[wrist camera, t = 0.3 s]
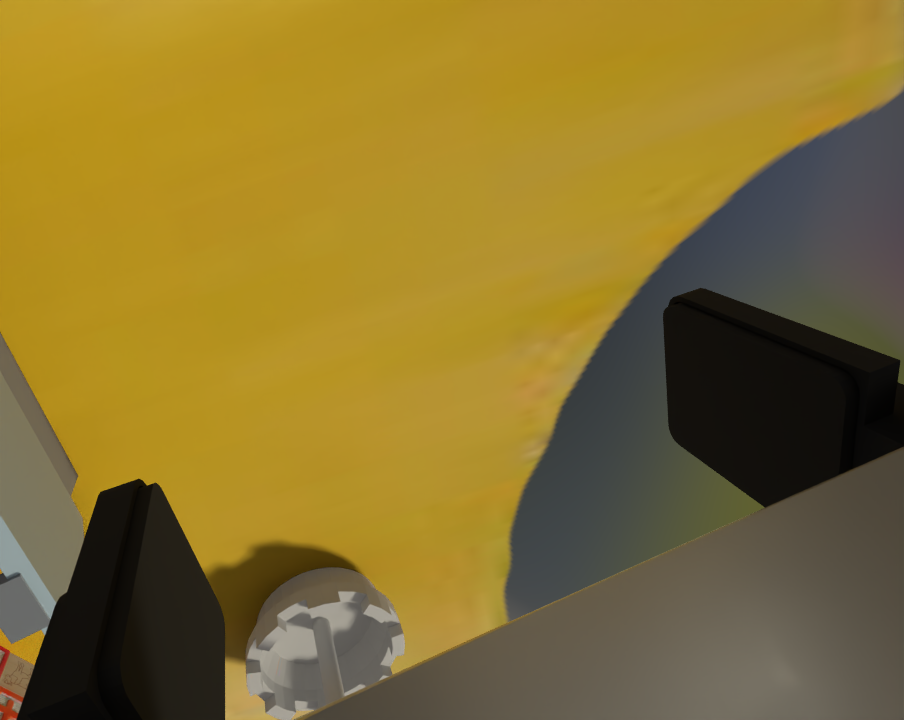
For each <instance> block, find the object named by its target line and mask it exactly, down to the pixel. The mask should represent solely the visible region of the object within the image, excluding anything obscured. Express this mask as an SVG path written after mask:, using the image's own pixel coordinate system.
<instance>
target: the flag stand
mask: <svg viewBox="0 0 904 720" xmlns="http://www.w3.org/2000/svg"><path fill="white" fill-rule="evenodd" d="M404 648H405V641H404V634H403V631H402V628H401V625H400V622H399V619H398V616H397V613H396V611H395V609H394V607H393V604H392V603H391V602H390V601H389V600H388V598H387V597H386V596H385V595H384V594H382V593H381V592H379V591H378V590H376V589H375V587H374V585H373V584H372V583H371V582H370V580H369V579H367V578H366V577H365V576H363V575H362V574H360V573H358V572H355V571H353V570H350V569H345V568H334V567H328V568H320V569H315V570H311V571H308V572H304V573H302V574H300V575H297V576H295V577H293V578H291V579H290V580H288V581H286V582H285V583H283V584H282V585H280V586H279V587H278V588H277V589H276V590H275V591H274V592H273V593H272V594H271V595H270V596H269V597H268V599H267V600H266V601H265V602H264V604H263V606H262V608H261V610H260V612H259V615H258V619H257V625H256V626H255V627H254V629H253V631H252V633H251V635H250V637H249V639H248V643H247V647H246V678H247V688H248V691H249V694H250V696H252V695H255V694H257V695H258V696H259V697H260V698H262V699H263V700H264V701H265V712H266V713H267V714H269V715H271V716H273V717H275V718H277V719H282V720H291V719H292V717H293V716H294V715H295V713H296V710H298V711H306V710H316V709H318V708H320V707H323V706H325V705H327V704H329V703H331V702H334V701H336V700H338V699H340V698H342V697H345V696H347V695H349V694H351V693H353V692H356V691H358V690H360V689H362V688H364V687H367V686H369V685H371V684H373V683H376V682H378V681H380V680H382V679H384V678H387V677H389V676H391V675H392V672H391V668H390V666H391V664H392V663H393V661H394V659H395V657H396V656H400V655H404Z"/></svg>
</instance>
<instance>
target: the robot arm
mask: <svg viewBox="0 0 904 720" xmlns="http://www.w3.org/2000/svg"><path fill="white" fill-rule="evenodd" d="M663 322H664V323H663V324H664V342H665V343H664V344H665V364H666V383H667V404H668V423H669V430H670V433H671V435H672V437H673V439H674V440H675V441H676V442H677V443H678V444H679V445H680V446H681V447H683V448H684V449H686V450H687V451H688V452H690V453H691V454H692V455H694V456H695V457H697V458H698V459H699V460H701V461H702V462H703V463H705V464H706V465H708V466H709V467H710V468H712V469H713V470H714V471H716V472H717V473H719V474H720V475H721V476H723V477H724V478H725V479H727V480H728V481H729V482H731V483H732V484H734V485H735V486H736V487H738V488H739V489H740V490H742V491H743V492H745V493H746V494H747V495H749V496H750V497H751V498H753V499H754V500H756V501H757V502H758V503H760V504H761V505H763V506H764V507H765V508H763V509H761V510H759V511H757V512H754V513H752V514H750V515H748V516H746V517H743V518H741V519H739V520H737V521H734V522H732V523H730V524H727V525H725V526H723V527H721V528H719V529H717V530H714V531H712V532H710V533H707V534H705V535H703V536H701V537H698V538H696V539H694V540H692V541H690V542H687V543H685V544H683V545H680V546H678V547H676V548H674V549H672V550H669V551H667V552H665V553H663V554H660V555H658V556H656V557H653V558H651V559H649V560H647V561H645V562H642V563H640V564H638V565H636V566H633V567H631V568H629V569H627V570H624V571H622V572H620V573H618V574H616V575H613V576H611V577H609V578H606V579H604V580H602V581H600V582H598V583H595V584H593V585H591V586H589V587H586V588H584V589H582V590H580V591H577V592H575V593H573V594H571V595H568V596H566V597H564V598H562V599H560V600H557V601H555V602H553V603H551V604H549V605H546V606H544V607H542V608H539V609H537V610H535V611H533V612H531V613H528V614H526V615H524V616H522V617H519V618H517V619H515V620H513V621H510V622H508V623H506V624H504V625H501V626H499V627H497V628H495V629H493V630H490V631H488V632H486V633H484V634H481V635H479V636H477V637H475V638H473V639H470V640H468V641H466V642H464V643H462V644H459V645H457V646H455V647H453V648H451V649H448V650H446V651H444V652H442V653H440V654H437V655H435V656H433V657H431V658H428V659H426V660H424V661H422V662H420V663H417V664H415V665H413V666H411V667H409V668H406V669H404V670H402V671H400V672H398V673H395V674H393V675H391V676H389V677H387V678H384V679H382V680H380V681H378V682H376V683H373V684H371V685H369V686H367V687H364V688H362V689H360V690H358V691H356V692H353V693H351V694H349V695H347V696H345V697H342V698H340V699H338V700H336V701H334V702H331V703H329V704H327V705H325V706H323V707H320V708H318V709H316V710H314V711H312V712H309V713H307V714H305V715H303V716H300V717H298V718H296V719H294V720H904V385H903V384H900V383H898V374H899V367H900V360H898V359H895V358H892V357H890V356H887V355H884V354H882V353H879V352H876V351H874V350H871V349H868V348H865V347H862V346H860V345H857V344H854V343H852V342H849V341H846V340H843V339H841V338H838V337H835V336H833V335H830V334H827V333H824V332H821V331H819V330H816V329H813V328H811V327H808V326H805V325H803V324H800V323H797V322H794V321H792V320H789V319H786V318H783V317H781V316H778V315H775V314H772V313H769V312H767V311H764V310H761V309H758V308H756V307H753V306H751V305H748V304H745V303H742V302H740V301H737V300H734V299H731V298H729V297H726V296H723V295H721V294H718V293H715V292H712V291H709V290H707V289H703V288H699V289H696V290H693V291H691V292H687V293H684V294H682V295H679V296H676V297H673V298H672V299H671V300H670V302H669V305H668V307H667V308H666V309H665V310H664V313H663ZM16 720H225V623H224V617H223V613H222V610H221V607H220V605H219V602H218V600H217V598H216V596H215V594H214V592H213V590H212V588H211V586H210V584H209V582H208V580H207V578H206V576H205V574H204V572H203V570H202V568H201V566H200V564H199V562H198V560H197V558H196V556H195V554H194V552H193V550H192V548H191V546H190V544H189V542H188V540H187V538H186V536H185V534H184V532H183V530H182V528H181V526H180V524H179V522H178V520H177V518H176V516H175V514H174V512H173V510H172V508H171V506H170V504H169V502H168V500H167V498H166V496H165V494H164V492H163V491H162V489H161V487H160V486H159V485H158V484H157V483H153V484H150V485H148V486H147V485H146V484H145V483H144V482H143V480H141V479H137V480H134V481H131V482H128V483H125V484H122V485H120V486H117V487H114V488H111V489H108V490H105V491H102V492H100V494H99V495H98V498H97V501H96V505H95V508H94V511H93V514H92V517H91V520H90V523H89V526H88V529H87V532H86V535H85V538H84V541H83V544H82V547H81V550H80V554H79V557H78V560H77V563H76V566H75V569H74V572H73V575H72V578H71V581H70V584H69V587H68V590H67V593H65V594H63V595H62V596H60V597H59V599H58V601H57V603H56V605H55V607H54V610H53V613H52V616H51V619H50V622H49V625H48V628H47V631H46V634H45V637H44V640H43V643H42V646H41V648H40V651H39V654H38V657H37V660H36V663H35V666H34V669H33V672H32V675H31V678H30V681H29V684H28V687H27V689H26V692H25V695H24V698H23V701H22V704H21V707H20V710H19V713H18V716H17V719H16Z"/></svg>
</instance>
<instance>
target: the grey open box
mask: <svg viewBox="0 0 904 720" xmlns="http://www.w3.org/2000/svg"><path fill="white" fill-rule="evenodd" d="M0 372H1V373H2V375H3V377H4V379H5V381H6V382H7V384H8V386H9V388H10V390H11V391H12V393H13V395H14V397H15V398H16V400H17V402H18V404H19V406H20V407H21V409H22V411H23V413H24V415H25V416H26V418H27V420H28V422H29V423H30V425H31V427H32V429H33V431H34V432H35V434H36V436H37V438H38V440H39V441H40V443H41V445H42V447H43V448H44V450H45V452H46V454H47V456H48V457H49V459H50V461H51V463H52V465H53V466H54V468H55V470H56V472H57V473H58V475H59V477H60V479H61V481H62V482H63V484H64V486H65V488H66V490H67V491H68V493H69V495H70V497H71V494H72V491H73V488H74V486H75V483H76V480H77V477H78V475H77V473H76V471H75V469H74V468H73V466H72V464H71V462H70V460H69V458H68V457H67V455H66V453H65V451H64V449H63V447H62V445H61V444H60V442H59V440H58V438H57V436H56V434H55V433H54V431H53V429H52V427H51V425H50V423H49V422H48V420H47V418H46V416H45V414H44V412H43V410H42V409H41V407H40V405H39V403H38V401H37V399H36V398H35V396H34V394H33V392H32V390H31V388H30V387H29V385H28V383H27V381H26V379H25V377H24V375H23V374H22V372H21V370H20V368H19V366H18V364H17V363H16V361H15V359H14V357H13V355H12V353H11V351H10V350H9V348H8V346H7V344H6V342H5V340H4V339H3V337H2V335H1V333H0Z"/></svg>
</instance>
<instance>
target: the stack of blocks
mask: <svg viewBox="0 0 904 720" xmlns="http://www.w3.org/2000/svg"><path fill="white" fill-rule="evenodd" d="M33 669H34V665H33V664H31V663H29V662H27V661H25V660H23V659H21V658H20V657H18V656H16V655H14V654H12V653H10V651H9V650H7V649H5V648H3V647H2V646H0V720H16V719H17V716H18V713H19V710H20V707H21V704H22V701H23V698H24V695H25V692H26V689H27V687H28V684H29V681H30V678H31V675H32V672H33Z"/></svg>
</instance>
